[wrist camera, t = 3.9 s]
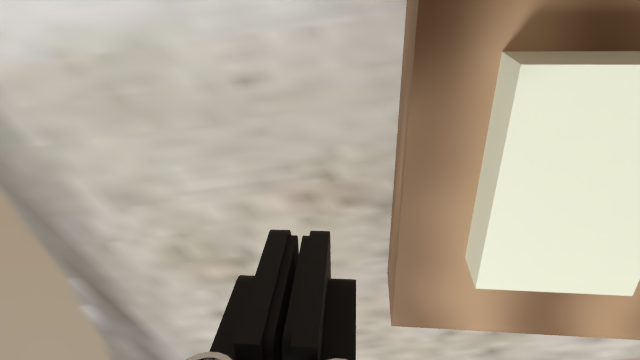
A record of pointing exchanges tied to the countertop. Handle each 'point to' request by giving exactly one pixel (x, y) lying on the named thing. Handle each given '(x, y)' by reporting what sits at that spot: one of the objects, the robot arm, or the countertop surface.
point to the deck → (466, 160)
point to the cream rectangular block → (560, 176)
